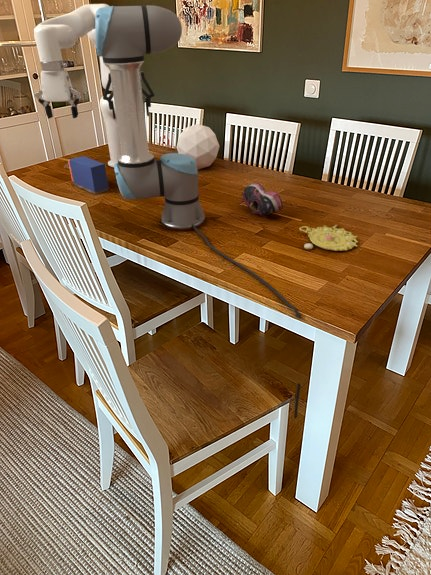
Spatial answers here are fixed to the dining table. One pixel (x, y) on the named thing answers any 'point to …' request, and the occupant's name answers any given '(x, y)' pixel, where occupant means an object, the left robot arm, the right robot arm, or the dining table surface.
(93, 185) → the cabinet
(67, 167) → the drawer
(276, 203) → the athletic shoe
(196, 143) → the sphere
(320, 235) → the decorative object
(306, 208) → the dining table surface
